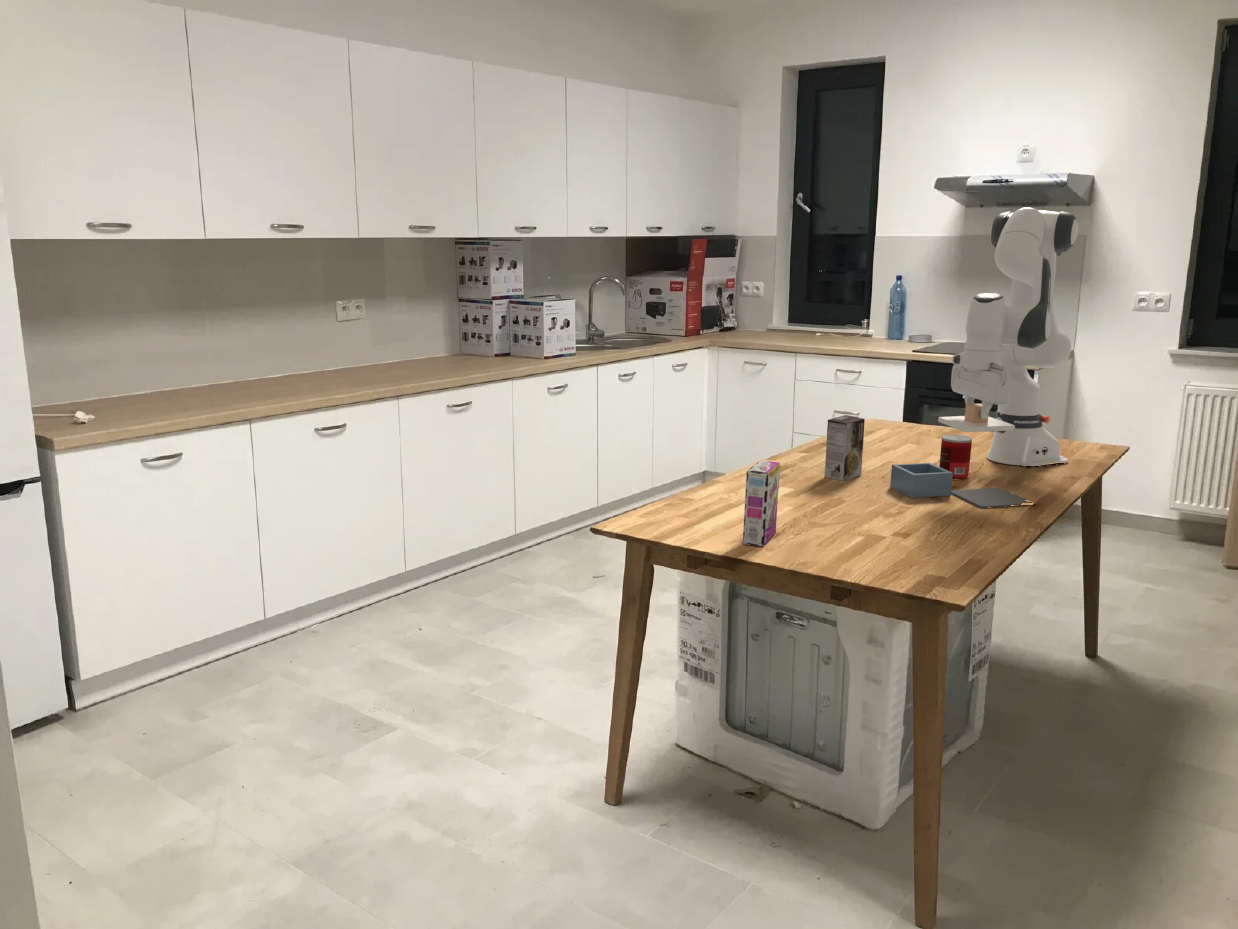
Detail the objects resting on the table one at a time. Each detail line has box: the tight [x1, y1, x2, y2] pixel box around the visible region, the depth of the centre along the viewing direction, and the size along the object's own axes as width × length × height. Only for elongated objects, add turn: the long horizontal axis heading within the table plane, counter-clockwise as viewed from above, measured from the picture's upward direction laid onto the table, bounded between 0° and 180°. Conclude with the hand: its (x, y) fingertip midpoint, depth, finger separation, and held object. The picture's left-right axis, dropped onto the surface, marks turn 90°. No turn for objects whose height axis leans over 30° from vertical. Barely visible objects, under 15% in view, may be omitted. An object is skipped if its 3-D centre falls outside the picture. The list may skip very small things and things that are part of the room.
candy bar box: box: [742, 460, 781, 548], centre depth 208 cm, size 11×5×16 cm, turn 157°
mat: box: [951, 487, 1035, 509], centre depth 243 cm, size 15×15×1 cm
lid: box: [937, 403, 1015, 433], centre depth 240 cm, size 13×13×5 cm
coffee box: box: [824, 415, 866, 482], centre depth 261 cm, size 9×6×16 cm
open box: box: [889, 462, 953, 499], centre depth 248 cm, size 11×11×6 cm
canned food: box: [938, 434, 973, 480], centre depth 263 cm, size 8×8×11 cm
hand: (976, 416), depth 240 cm, fingers closed on lid, 4 cm apart
